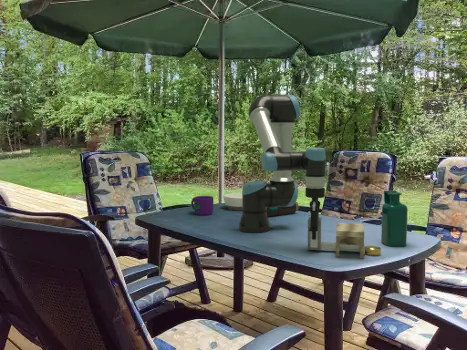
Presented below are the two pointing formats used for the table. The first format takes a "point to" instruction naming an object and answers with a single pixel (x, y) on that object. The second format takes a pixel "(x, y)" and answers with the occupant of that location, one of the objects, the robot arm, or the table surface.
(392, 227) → the green bottle
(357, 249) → the bracket
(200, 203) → the mug
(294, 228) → the table surface
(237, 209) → the bowl
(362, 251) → the shelf
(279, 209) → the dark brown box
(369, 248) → the yellow lumpy disc
